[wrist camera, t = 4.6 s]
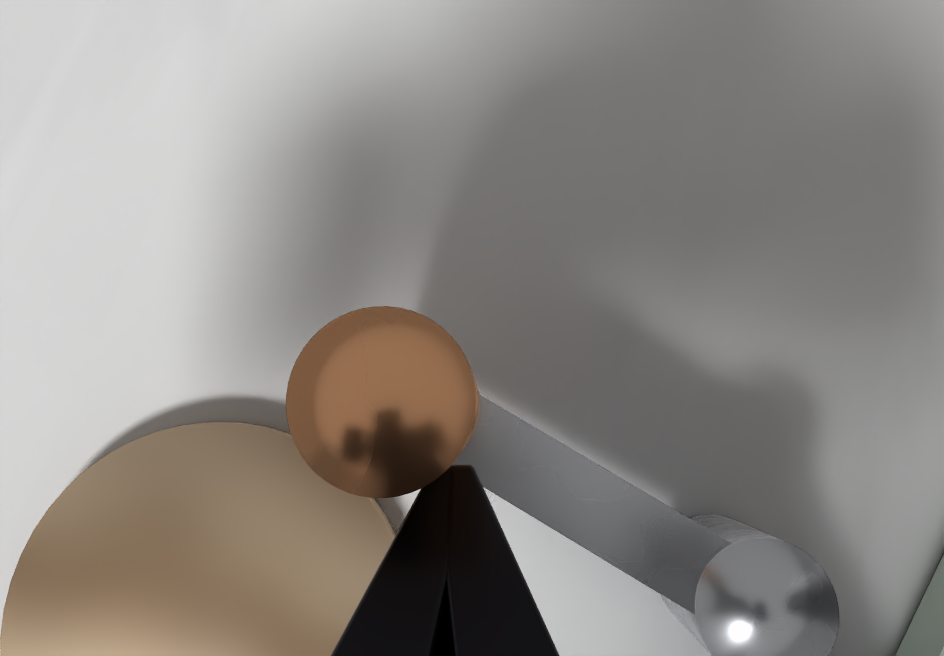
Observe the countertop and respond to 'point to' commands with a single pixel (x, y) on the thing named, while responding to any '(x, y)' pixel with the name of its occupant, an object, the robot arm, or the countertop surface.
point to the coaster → (195, 553)
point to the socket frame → (927, 621)
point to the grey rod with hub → (540, 482)
